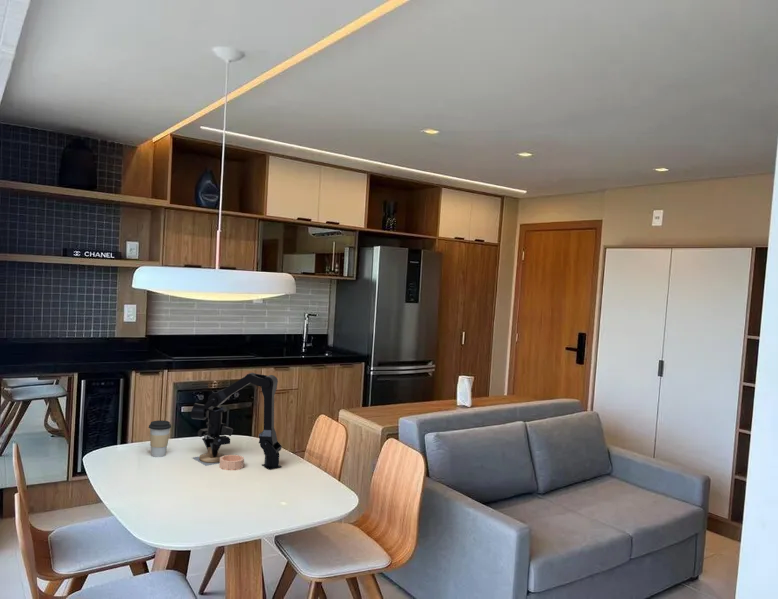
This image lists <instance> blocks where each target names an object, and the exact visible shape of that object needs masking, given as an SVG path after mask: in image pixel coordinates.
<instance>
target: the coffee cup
mask: <svg viewBox="0 0 778 599" xmlns="http://www.w3.org/2000/svg"><path fill="white" fill-rule="evenodd" d="M148 428H149V430H150V431H149V432H150V433H149V441H150V442H149V443H150V444H149V445H150V455H151V456H150V457H152V458H163V457H165V456H166V453H167V449H168V448H167V446H168V444H169V439H170V431H171V428H172V424H171V423H170V421H168V420H160V419H159V420H154V421H151V422H150V423H149V425H148Z"/></svg>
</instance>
